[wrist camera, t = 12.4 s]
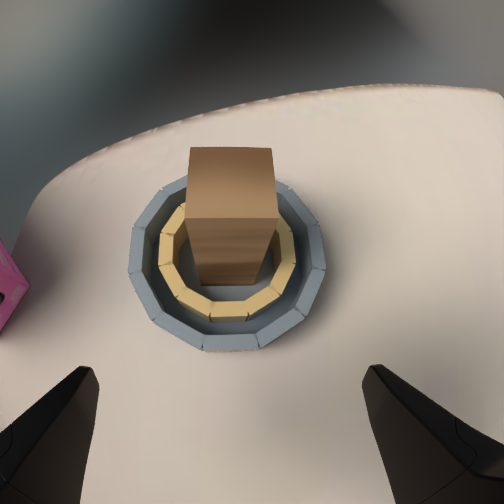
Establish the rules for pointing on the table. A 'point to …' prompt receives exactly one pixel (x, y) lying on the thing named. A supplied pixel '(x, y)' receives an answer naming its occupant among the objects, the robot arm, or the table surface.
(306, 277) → the grey round dish
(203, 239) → the brown wooden block
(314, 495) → the table surface
